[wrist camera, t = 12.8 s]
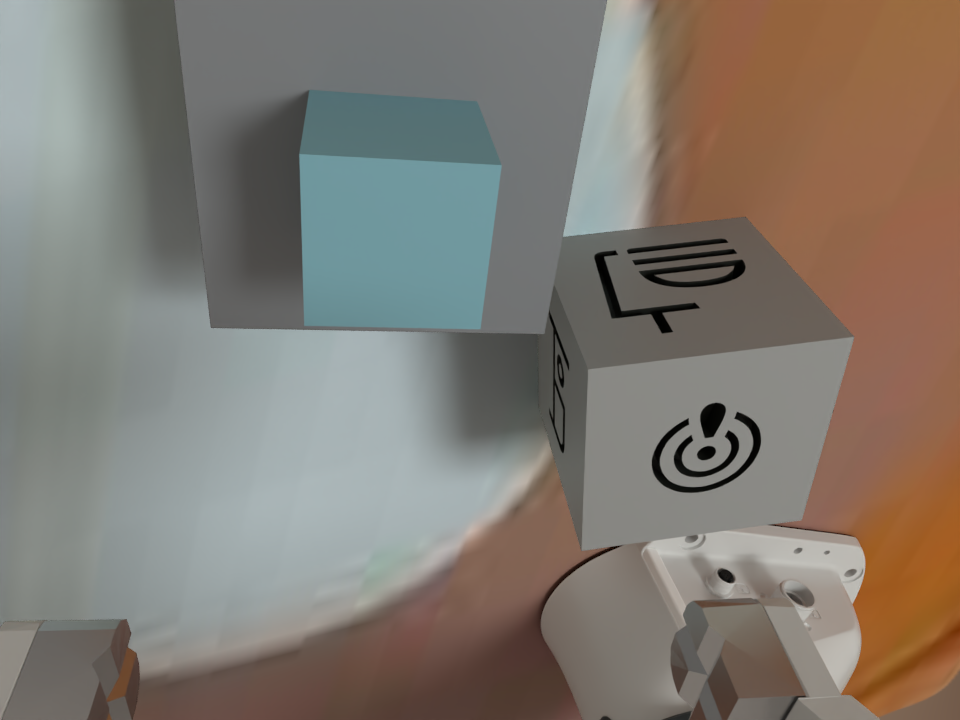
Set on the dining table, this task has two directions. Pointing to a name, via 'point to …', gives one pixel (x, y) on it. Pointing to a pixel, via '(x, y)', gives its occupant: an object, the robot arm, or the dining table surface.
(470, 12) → the grey block
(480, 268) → the teal block
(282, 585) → the dining table surface
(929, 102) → the dining table surface
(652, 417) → the icon cube
